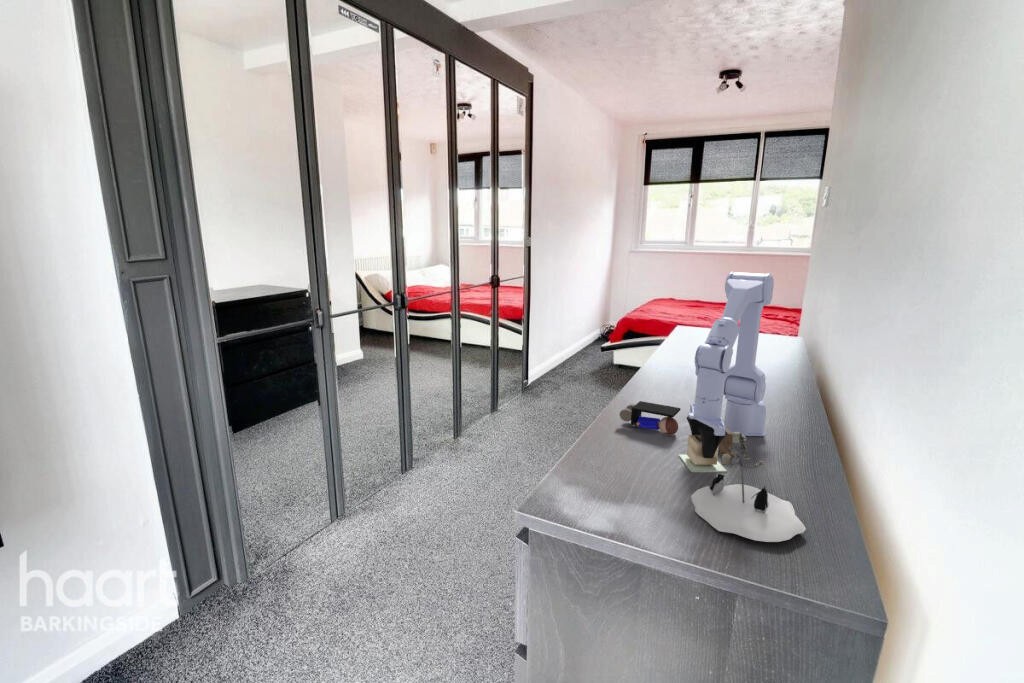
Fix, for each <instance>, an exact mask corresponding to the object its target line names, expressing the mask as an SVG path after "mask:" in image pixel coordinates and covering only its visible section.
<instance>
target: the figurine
mask: <svg viewBox="0 0 1024 683" xmlns="http://www.w3.org/2000/svg"><path fill="white" fill-rule="evenodd" d="M732 433H733V434H732V436H733V444H734V443H735V444H739V445H740V446H739V450H740V451H739V450H737V449H735V448H734V446H732V444H731V445H730V443H729V441H728V444H729V445H730V448H728V449H730V450H731V451H732V452H733V453H734V454H735V457H736V458H739V459H738V460H739V462H732V461H734V460H735V458H733V459H732V457H731V456H730V455H729V454H723V456H721V465H722V466H723V467H725V466H727V467H728V466H740V471H741V475H740V476H741V483H735V484H730V485H724V483H725V479H724V477H725V476H726V475H724V474H722V473H721V474H720V473H719V474H717V476H716V477H714V478H713V480H712V483H711V486H710V485H706V486H704V487H701V488H698V489H697V490H696V491H694V492H693V493H692V495H690V500H691V501H692V502H691V503H692V504H693V505H694V512H695V513H696V514H697V516H699V517H701V518H702V519H703V520H704V521H706V523H708V524H709V525H710V526H711V527H713V528H714V529H715V530H716V531H718V532H722V533H729V534H735V535H738V536H740V537H743V538H746V539H748V540H749V539H750V540H753V541H757V542H766V543H779V542H784V541H787V540H788V541H789V540H791V539H792V538H793V537H795V536H796V535H799V534H804V532H805V531H806V529H807V528H806V527H805V525H804V523H803V522H802V521H801V519H800V518H799V517H798V516H797V514H796V511H795V508H794V507H793V504H792V503H791V501H788V500H784V499H781V498H779V497H778V496H776V495H773V494H771V493H770V492H768V490H767V489H766V486H764V487H762V488H761V489H759V488H757V487H756V486H751V485H748V484H744V483H745V482H744V481H745V480H744V468H746V469H748V467H752V469H753V468H755V469H756V468H758V467H760V466H765V463H764V461H763V460H760V461H759V462H758V463H753V464H744V461H743V460H746V461H747V460H751V458H750V457H749V456H748V455H749V454H750V453H749V450H748V448H747V446H746V444H745V443H744V442H746V441H747V436H743V435H742V433H739V432H732ZM744 450H745V451H747V452H743V451H744Z"/></svg>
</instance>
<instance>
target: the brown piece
mask: <svg viewBox="0 0 1024 683" xmlns="http://www.w3.org/2000/svg"><path fill="white" fill-rule="evenodd" d="M725 431H726V432H727V435H726V436H725V437H724V438H723V440H722V441H721V442H720V444H719V449H718V451H720V454H719V455H720V456H721V457H722V456H723V454H729V455H730V456H731V458H736V455H735V454H734V452H732V451H731V450H730V449H728V448H730V445H731V444H732V446H733V445H734V442H733V436H732V434H733V433H732V432H731V431H730V430H729V429H728V428H726V429H725ZM728 441H729V443H730V445H729V444H728ZM733 447H734V446H733Z"/></svg>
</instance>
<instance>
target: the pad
mask: <svg viewBox="0 0 1024 683" xmlns="http://www.w3.org/2000/svg"><path fill="white" fill-rule="evenodd" d="M678 458H680V461H682V462H683V464H684V465H685V467H687V469H688V471H690V472H691V473H727V469H725V466H723V465H722V463H721V462H720V461H718V460H717V465H695V464H694V463H693V462H692V460H691V459H690V458H689V457H688V456H687V453H686V454H682V453H681V454H678Z"/></svg>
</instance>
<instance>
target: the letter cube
mask: <svg viewBox="0 0 1024 683" xmlns="http://www.w3.org/2000/svg"><path fill="white" fill-rule="evenodd" d="M686 454H687V456H688V457H689V458H690V459H691V460H692V462H693V463H694V464H695V465H717V461H718V456H719V455H718V454H719V446H718V448H717V450H716V452H715V455H714V457H713V458H704V457H703V454H702V439H701V435H692V434H688V437H687V447H686Z"/></svg>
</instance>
